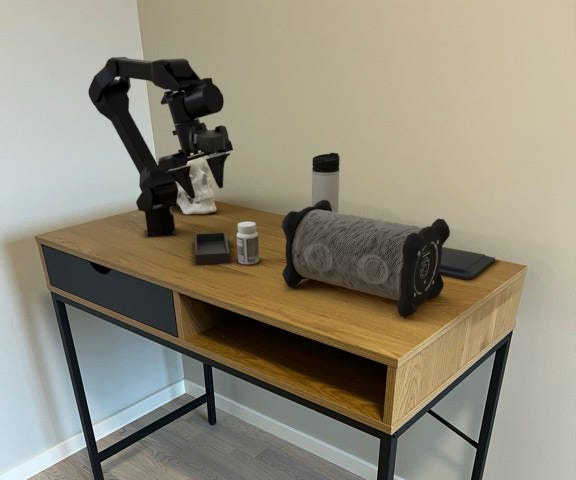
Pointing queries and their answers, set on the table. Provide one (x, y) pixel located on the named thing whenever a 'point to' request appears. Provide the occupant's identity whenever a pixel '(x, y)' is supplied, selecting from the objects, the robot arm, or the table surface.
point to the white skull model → (197, 190)
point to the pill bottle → (247, 243)
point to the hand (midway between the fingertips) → (207, 193)
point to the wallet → (463, 263)
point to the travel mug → (326, 179)
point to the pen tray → (211, 248)
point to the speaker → (365, 254)
